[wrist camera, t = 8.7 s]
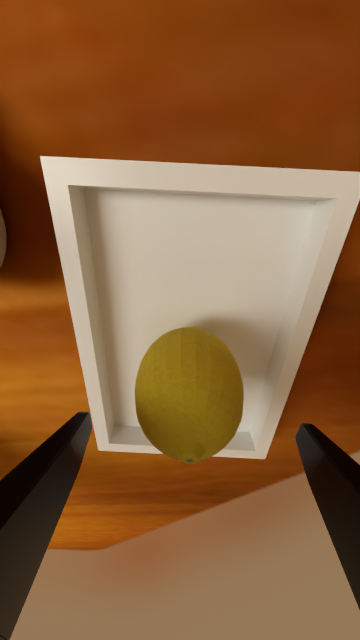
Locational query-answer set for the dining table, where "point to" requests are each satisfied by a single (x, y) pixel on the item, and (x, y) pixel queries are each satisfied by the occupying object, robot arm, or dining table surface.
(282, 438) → the dining table surface
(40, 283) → the dining table surface
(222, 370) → the lemon
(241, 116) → the dining table surface
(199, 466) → the dining table surface
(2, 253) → the ceramic mug
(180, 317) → the tray
